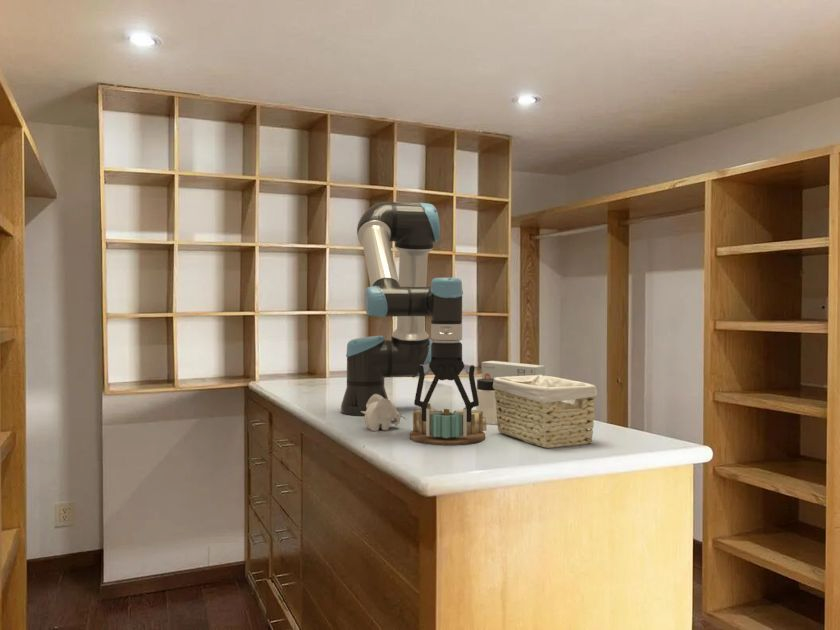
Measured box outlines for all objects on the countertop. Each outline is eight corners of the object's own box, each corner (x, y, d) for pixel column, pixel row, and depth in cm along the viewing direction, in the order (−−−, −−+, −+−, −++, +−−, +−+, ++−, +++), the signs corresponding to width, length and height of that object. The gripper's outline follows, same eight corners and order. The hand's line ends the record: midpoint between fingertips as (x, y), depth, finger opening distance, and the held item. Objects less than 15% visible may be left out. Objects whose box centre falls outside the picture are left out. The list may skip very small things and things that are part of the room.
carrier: (401, 432, 180) (401, 402, 180) (470, 429, 186) (470, 399, 185) (421, 447, 162) (421, 413, 162) (497, 442, 167) (497, 409, 167)
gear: (431, 431, 172) (431, 411, 172) (462, 432, 171) (462, 411, 171) (429, 437, 164) (429, 416, 164) (461, 438, 164) (462, 417, 164)
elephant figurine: (409, 430, 183) (409, 397, 183) (364, 433, 180) (364, 399, 180) (399, 424, 193) (399, 392, 192) (356, 427, 189) (356, 394, 189)
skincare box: (480, 413, 213) (480, 361, 213) (492, 411, 217) (492, 360, 216) (535, 421, 197) (535, 366, 197) (546, 419, 201) (547, 364, 201)
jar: (488, 425, 191) (488, 382, 191) (470, 421, 198) (470, 379, 197) (512, 422, 196) (512, 380, 195) (494, 418, 203) (494, 377, 202)
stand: (462, 427, 188) (462, 416, 188) (481, 426, 189) (481, 415, 189) (469, 431, 182) (469, 419, 182) (489, 430, 184) (489, 418, 184)
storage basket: (600, 445, 165) (600, 383, 165) (543, 451, 158) (543, 386, 158) (542, 428, 187) (542, 374, 187) (490, 433, 180) (490, 376, 180)
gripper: (401, 342, 164) (401, 437, 165) (490, 342, 163) (490, 438, 163) (404, 340, 172) (404, 431, 172) (490, 340, 170) (489, 432, 171)
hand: (446, 435), depth 168 cm, fingers open, 8 cm apart
